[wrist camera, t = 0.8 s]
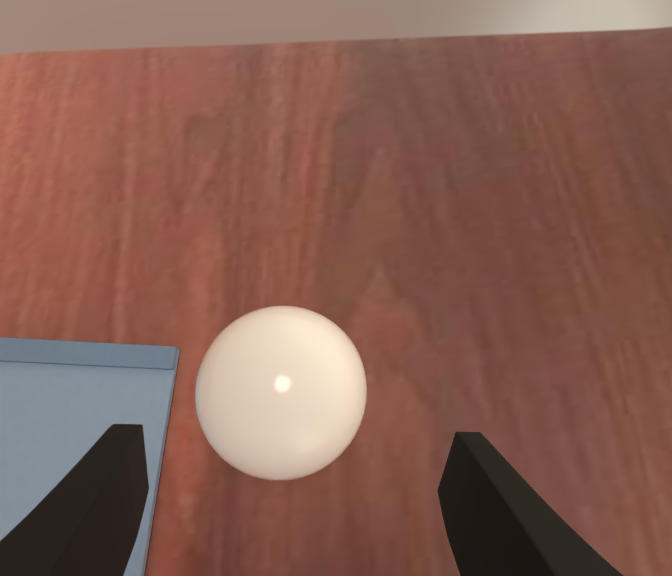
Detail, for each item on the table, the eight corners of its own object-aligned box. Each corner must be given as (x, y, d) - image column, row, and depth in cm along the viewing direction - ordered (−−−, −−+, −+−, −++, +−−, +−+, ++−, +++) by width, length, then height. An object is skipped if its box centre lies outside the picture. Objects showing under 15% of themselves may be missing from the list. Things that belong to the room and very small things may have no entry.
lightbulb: (208, 459, 23) (145, 456, 13) (244, 341, 26) (214, 261, 16) (329, 487, 24) (359, 507, 13) (354, 367, 26) (396, 305, 16)
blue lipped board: (101, 847, 18) (92, 866, 17) (-229, 856, 17) (-256, 876, 16) (179, 350, 25) (176, 346, 24) (-51, 338, 24) (-63, 333, 24)
